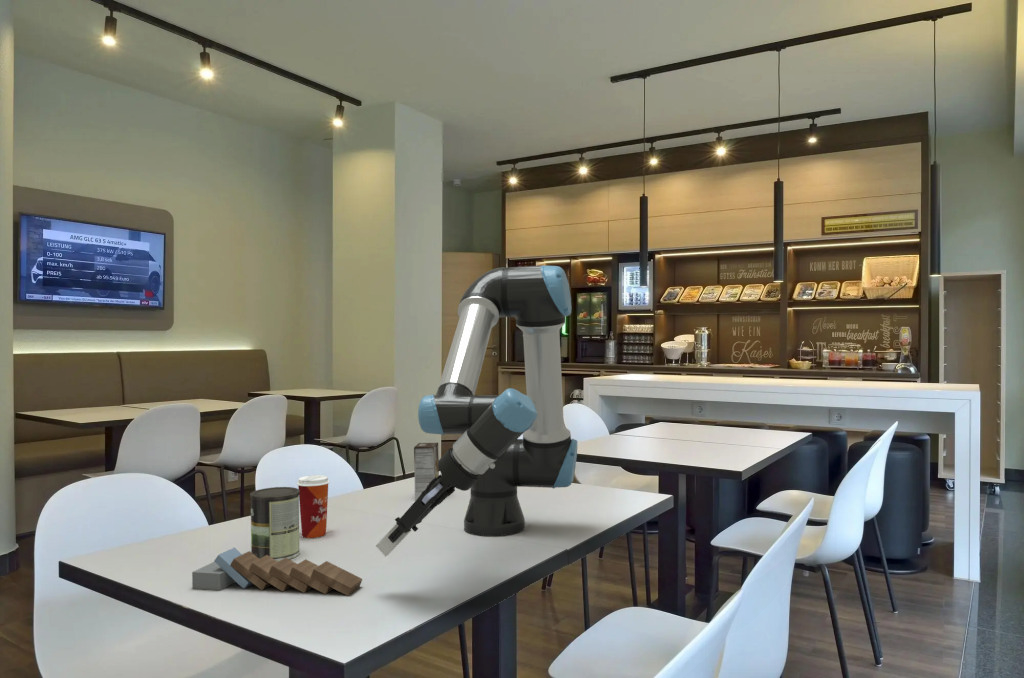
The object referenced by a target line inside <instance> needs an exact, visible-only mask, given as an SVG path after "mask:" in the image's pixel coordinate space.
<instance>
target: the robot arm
mask: <svg viewBox="0 0 1024 678" xmlns="http://www.w3.org/2000/svg"><path fill="white" fill-rule="evenodd" d="M572 309H573V308H572V296H571V291H570V284H569V281H568V278H567V275H566V272H565V270H564V269H563V268H562V267H561V266H557V265H544V264H543V265H527V266H513V267H510V266H509V267H506V266H505V267H504V266H503V267H502V266H501V267H497V268H496V267H495V268H493V269H491V270H488V271H486V272H484V273H483V274H481V275H480V276H479V277H477V278H476V279H475V280H474V281H473V282H472V283H470V285H469V286H468V288H467V289H466V290H465V291H464V293H463V295H462V296H461V298H460V301H459V305H458V307H457V316H458V318H459V319H458V322H457V326H456V329H455V332H454V335H453V339H452V342H451V344H450V348H449V352H448V354H447V358H446V362H445V365H444V368H443V371H442V373H441V377H440V381H439V384H438V387H437V391H436V393H435V394H430V395H424V396H423V397H422V398H421V399H420V401H419V404H418V411H417V418H418V424H419V426H420V429H421V431H422V432H424V433H425V434H432V435H433V434H434V435H442V436H445V435H461V436H459V437H458V439H457V440H456V441H455V442H454V443H453V444H452V447H451V448H448V450H447V451H446V452H445V453H444V454H443V455H442V456H441V457H439V461H438V468H439V473H440V474H439V476H438V477H437V478H436V477H435V478H434V479H433V480H432V481H431V482H430V483H429V486H428V487H427V488H426V489H425V490H424V491H423V492H422V494H421V495H420V496H419V497H418V499H417V500H416V501H415V500H414V502H413V503H412V504H411V505H410V507H409V508H408V509H407V510H406V511H405V512H404V514H403V515H402V516H401V517H399V516H397V517H396V518H395V519H394V521H395V523H396V524H395V525H394V526H393V527H392V528H391V529H390V530H389V531H388V532H387V533H386V534H385V535H384V536H383V537H382V538H381V539H380V540H379V542H378V543H377V544H376V545H375V547H376V548H377V549H378V551H380V552H381V554H383V557H387V556H389V555H390V554H391V553H392V552H393V550H395V549H396V547H398V545H400V543H401V542H402V541H403V540H404V539H405V538H406V537H407V536H408V535H409V534H410V533H411V532H412V531H413V532H414V533H415V532H417V531H418V530H419V527H417V525H418V524H420V523H422V521H423V520H424V519H425V518H426V517H427V516H428V515H429V514H430V513H431V512H432V511H433V510H434V509H435V508H436V507H438V506H439V505H440V504H441V503H443V502H444V500H446V499H447V498H448V497H450V496H451V495H452V494H453V493H454V492H455V491H456V489H457V490H460V491H464V492H465V491H469V490H470V498H469V502H468V504H467V505H468V506H467V510H466V512H465V515H464V519H463V529H464V531H465V533H469V534H472V535H477V536H486V537H494V536H495V537H496V536H497V537H498V536H508V535H509V536H510V535H513V534H517V533H519V532H522V531H524V530H525V528H526V520H525V516H524V513H523V510H522V507H521V503H520V501H519V498H518V488H549V489H551V488H552V489H557V488H568V487H570V486H571V485H572V484H573V482H574V478H575V472H576V465H577V458H578V457H577V456H578V440H577V439H574V438H572V437H571V436H572V435H571V431H570V430H569V428H567V427H566V426H565V422H564V421H565V420H564V401H563V399H564V397H563V381H562V380H563V379H562V378H563V377H562V363H561V362H562V360H561V358H562V357H561V339H560V338H561V336H560V335H561V334H560V331H561V328H562V327H563V326H564V325H565V324H566V317H568V316H571V314H572ZM500 318H515V325H516V328H517V327H518V329H519V330H521V332H522V336H523V337H522V338H523V339H522V340H523V355H524V371H525V372H524V375H525V386H526V387H525V388H526V394H524V393H522V392H521V391H519V390H518V389H515V388H513V387H512V388H509V387H508V388H507V389H505V390H504V391H503V392H502V393H501V394H500V395H499V394H498V395H497V394H496V395H495V394H494V395H493V394H490V395H487V394H486V395H485V394H484V395H483V394H482V395H478V394H477V395H476V390H477V387H478V382H479V380H480V379H479V378H480V375H481V371H482V367H483V363H484V359H485V355H486V351H487V347H488V344H489V340H490V336H491V333H492V329H493V328H494V327H495V326H496V325H497V323H498V321H499V319H500ZM521 436H522V438H520V437H521Z"/></svg>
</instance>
